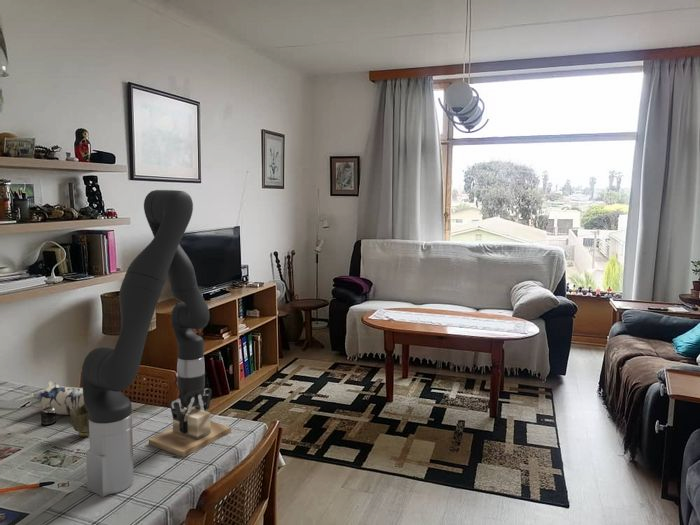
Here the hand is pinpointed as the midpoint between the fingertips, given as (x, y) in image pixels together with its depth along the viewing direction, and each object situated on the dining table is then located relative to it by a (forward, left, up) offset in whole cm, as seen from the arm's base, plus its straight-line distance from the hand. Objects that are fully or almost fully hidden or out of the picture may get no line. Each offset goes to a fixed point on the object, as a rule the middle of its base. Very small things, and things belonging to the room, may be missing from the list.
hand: (191, 428), depth 145 cm
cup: (-15, +27, -3) cm, 31 cm away
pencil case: (-7, +44, -3) cm, 44 cm away
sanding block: (0, 0, -1) cm, 1 cm away
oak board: (0, 0, -3) cm, 3 cm away
